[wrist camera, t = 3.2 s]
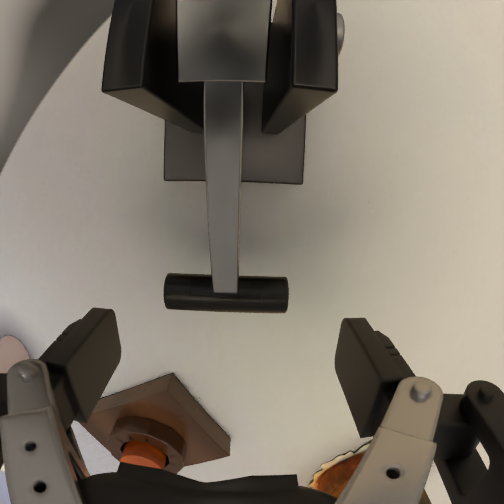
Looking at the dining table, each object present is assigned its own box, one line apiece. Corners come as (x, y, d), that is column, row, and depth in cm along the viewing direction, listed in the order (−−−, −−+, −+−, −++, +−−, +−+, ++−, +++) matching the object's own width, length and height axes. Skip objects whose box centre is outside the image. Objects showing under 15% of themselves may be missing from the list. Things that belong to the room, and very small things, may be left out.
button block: (141, 459, 26) (133, 487, 22) (83, 403, 24) (67, 431, 20) (230, 438, 25) (229, 471, 21) (172, 372, 23) (162, 407, 19)
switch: (282, 286, 16) (285, 326, 14) (174, 282, 16) (166, 322, 14) (324, -9, 7) (345, -13, 5) (140, -9, 6) (108, -11, 5)
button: (143, 466, 22) (139, 481, 20) (116, 443, 21) (111, 458, 19) (175, 461, 21) (172, 476, 20) (147, 436, 20) (143, 452, 19)
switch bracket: (299, 183, 19) (394, 229, 6) (168, 179, 18) (46, 220, 6) (304, 32, 16) (374, -98, 4) (176, 29, 16) (101, -97, 3)
